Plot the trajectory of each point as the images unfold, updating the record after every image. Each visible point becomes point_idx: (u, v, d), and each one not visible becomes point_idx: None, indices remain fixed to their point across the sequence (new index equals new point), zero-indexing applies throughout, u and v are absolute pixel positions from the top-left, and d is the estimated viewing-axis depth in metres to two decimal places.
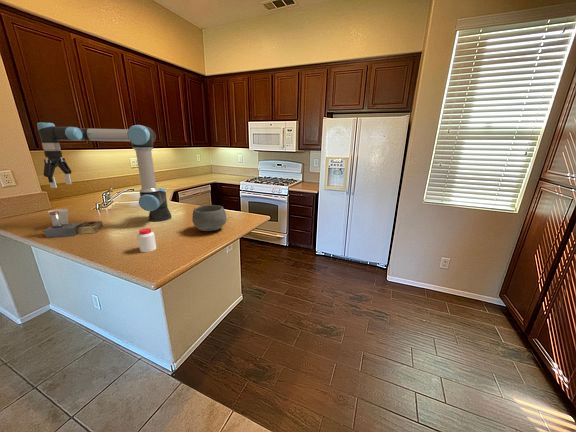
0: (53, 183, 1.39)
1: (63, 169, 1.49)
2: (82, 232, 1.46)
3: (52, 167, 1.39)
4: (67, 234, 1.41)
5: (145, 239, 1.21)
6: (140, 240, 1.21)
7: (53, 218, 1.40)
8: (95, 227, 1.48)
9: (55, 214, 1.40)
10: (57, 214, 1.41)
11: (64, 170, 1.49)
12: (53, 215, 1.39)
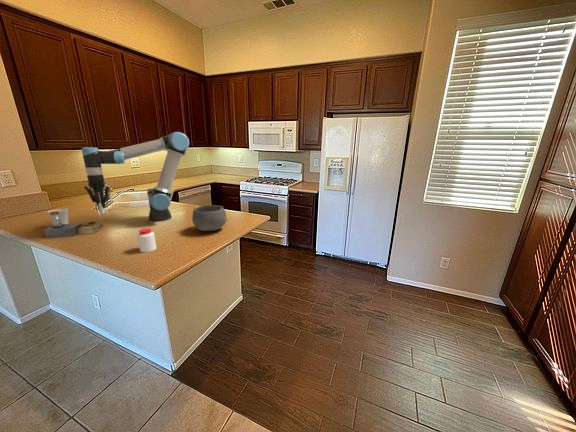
0: None
1: None
2: (82, 232, 1.46)
3: None
4: (67, 234, 1.41)
5: (145, 239, 1.21)
6: (140, 240, 1.21)
7: (53, 218, 1.40)
8: (95, 227, 1.48)
9: (55, 214, 1.40)
10: (57, 214, 1.41)
11: None
12: (53, 215, 1.39)
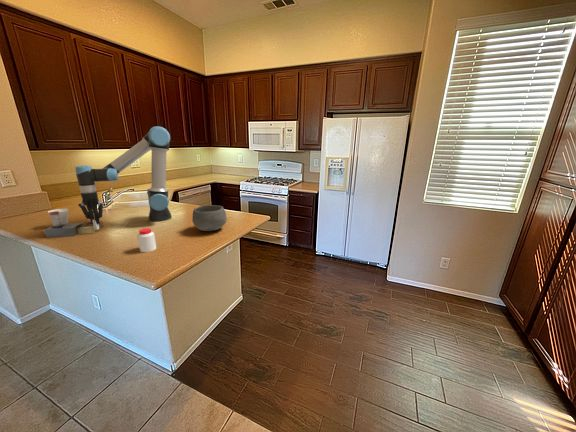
0: None
1: None
2: (82, 232, 1.46)
3: None
4: (67, 234, 1.41)
5: (145, 239, 1.21)
6: (140, 240, 1.21)
7: (53, 218, 1.40)
8: None
9: (55, 214, 1.40)
10: (57, 214, 1.41)
11: None
12: (53, 215, 1.39)
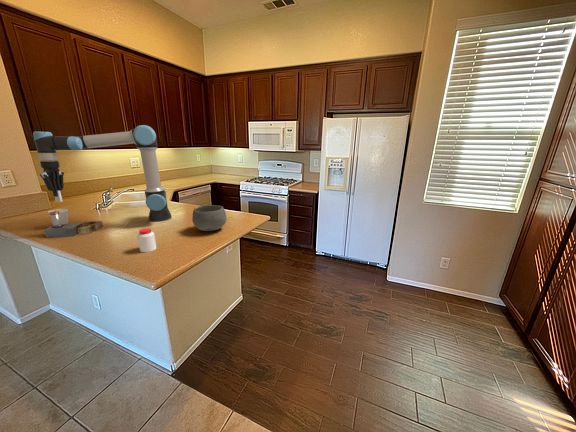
0: (58, 197, 1.38)
1: (56, 183, 1.37)
2: None
3: (52, 180, 1.34)
4: (67, 234, 1.41)
5: (145, 239, 1.21)
6: (140, 240, 1.21)
7: (53, 218, 1.40)
8: (89, 227, 1.47)
9: (55, 214, 1.40)
10: (57, 214, 1.41)
11: (56, 184, 1.37)
12: (53, 215, 1.39)
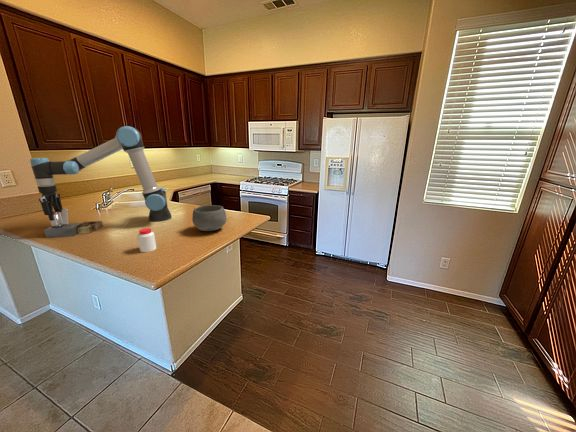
0: (54, 221, 1.40)
1: (55, 206, 1.42)
2: None
3: (49, 204, 1.37)
4: (67, 234, 1.41)
5: (145, 239, 1.21)
6: (140, 240, 1.21)
7: None
8: (89, 227, 1.47)
9: (55, 214, 1.40)
10: (57, 214, 1.41)
11: (55, 207, 1.42)
12: None
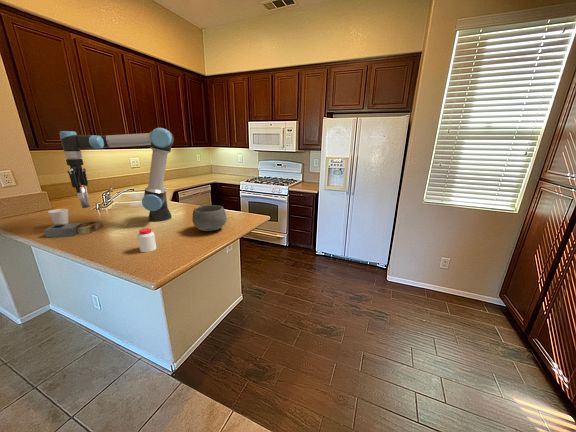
0: (80, 193, 1.45)
1: (81, 179, 1.47)
2: None
3: (76, 177, 1.42)
4: (67, 234, 1.41)
5: (145, 239, 1.21)
6: (140, 240, 1.21)
7: None
8: (89, 227, 1.47)
9: (82, 187, 1.45)
10: (83, 187, 1.46)
11: (82, 180, 1.47)
12: None
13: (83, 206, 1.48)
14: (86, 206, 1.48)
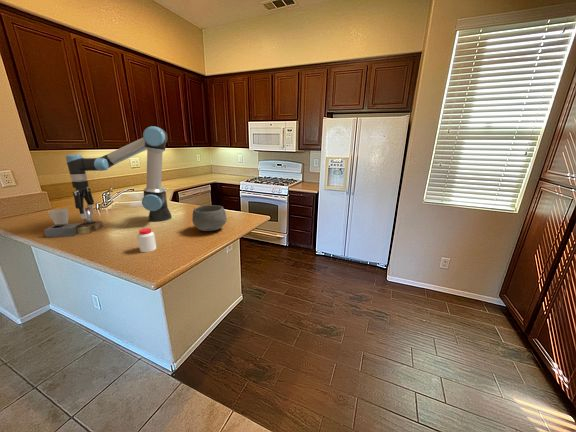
0: (84, 214, 1.47)
1: (87, 199, 1.52)
2: None
3: (81, 198, 1.45)
4: (67, 234, 1.41)
5: (145, 239, 1.21)
6: (140, 240, 1.21)
7: None
8: (89, 227, 1.47)
9: (87, 210, 1.49)
10: (89, 210, 1.50)
11: (88, 200, 1.52)
12: None
13: None
14: None
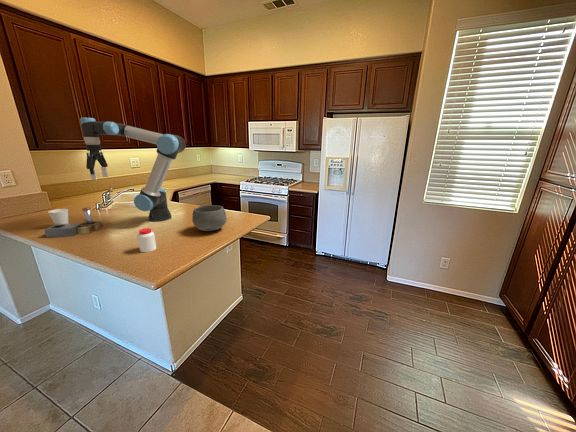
0: (94, 175, 1.47)
1: (101, 162, 1.57)
2: None
3: (93, 160, 1.47)
4: (67, 234, 1.41)
5: (145, 239, 1.21)
6: (140, 240, 1.21)
7: (85, 213, 1.49)
8: (89, 227, 1.47)
9: (87, 210, 1.49)
10: (89, 210, 1.50)
11: (102, 163, 1.57)
12: (85, 211, 1.49)
13: None
14: None
